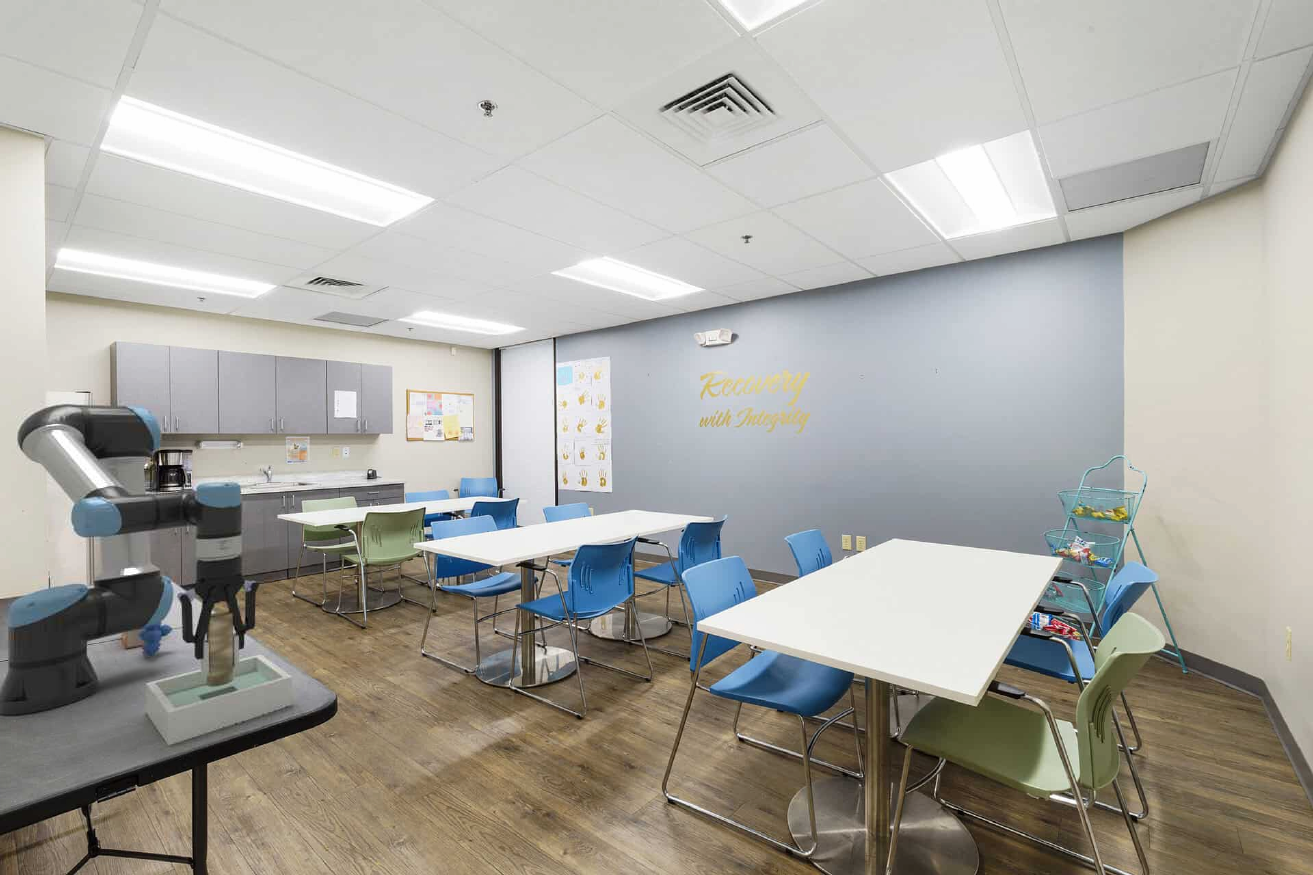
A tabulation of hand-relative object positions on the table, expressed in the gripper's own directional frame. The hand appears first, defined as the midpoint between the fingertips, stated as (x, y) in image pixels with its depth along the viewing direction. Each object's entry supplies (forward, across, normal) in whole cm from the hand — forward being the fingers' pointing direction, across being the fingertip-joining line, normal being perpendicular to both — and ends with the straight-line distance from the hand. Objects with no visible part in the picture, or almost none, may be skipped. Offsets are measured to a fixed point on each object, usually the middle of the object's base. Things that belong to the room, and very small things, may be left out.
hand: (220, 669), depth 118 cm
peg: (+3, 0, 0) cm, 3 cm away
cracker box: (+8, -3, +68) cm, 69 cm away
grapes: (+8, -2, +50) cm, 51 cm away
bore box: (+8, 0, 0) cm, 8 cm away
